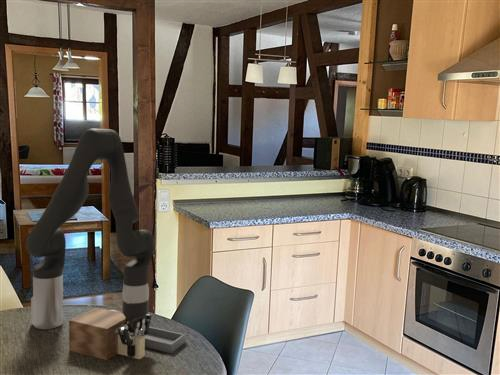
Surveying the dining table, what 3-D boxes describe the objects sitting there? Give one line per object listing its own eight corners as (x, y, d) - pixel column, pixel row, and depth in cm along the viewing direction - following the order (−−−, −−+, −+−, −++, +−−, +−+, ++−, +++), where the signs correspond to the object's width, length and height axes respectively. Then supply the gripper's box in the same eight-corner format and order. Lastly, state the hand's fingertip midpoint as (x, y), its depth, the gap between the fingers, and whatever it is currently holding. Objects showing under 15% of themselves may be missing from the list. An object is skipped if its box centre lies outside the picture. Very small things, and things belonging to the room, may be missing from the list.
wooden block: (69, 350, 147) (69, 320, 146) (95, 335, 158) (95, 307, 157) (108, 360, 142) (108, 329, 141) (133, 344, 153) (133, 315, 152)
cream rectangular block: (106, 350, 148) (106, 331, 147) (111, 347, 150) (111, 328, 150) (139, 359, 143) (139, 339, 143) (144, 355, 146) (144, 336, 145)
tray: (126, 342, 154) (126, 334, 154) (142, 332, 162) (142, 324, 162) (171, 353, 148) (171, 344, 148) (185, 342, 156) (185, 334, 155)
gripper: (139, 288, 151) (138, 342, 153) (109, 302, 138) (109, 360, 140) (159, 292, 148) (158, 346, 150) (131, 307, 135) (131, 366, 137)
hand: (135, 353), depth 145 cm, fingers open, 3 cm apart
